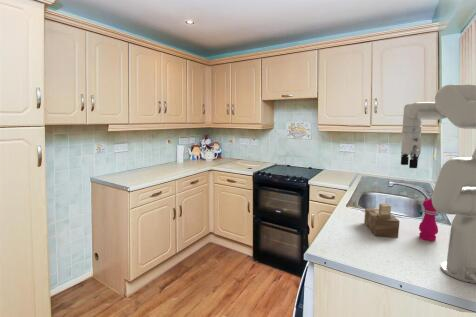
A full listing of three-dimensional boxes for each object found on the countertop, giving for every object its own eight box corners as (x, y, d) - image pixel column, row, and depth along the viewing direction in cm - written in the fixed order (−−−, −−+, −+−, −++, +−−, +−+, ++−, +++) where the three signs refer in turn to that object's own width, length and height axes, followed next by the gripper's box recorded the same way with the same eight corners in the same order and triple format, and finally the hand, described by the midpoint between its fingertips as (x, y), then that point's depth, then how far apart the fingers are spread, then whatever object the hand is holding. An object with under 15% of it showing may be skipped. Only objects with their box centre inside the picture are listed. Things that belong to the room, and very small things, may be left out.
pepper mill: (440, 242, 121) (445, 198, 118) (422, 241, 123) (426, 198, 120) (432, 235, 128) (436, 194, 125) (415, 234, 130) (419, 193, 127)
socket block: (398, 237, 126) (399, 220, 125) (375, 236, 128) (376, 219, 126) (384, 224, 142) (385, 208, 141) (364, 223, 143) (365, 208, 142)
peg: (389, 222, 128) (391, 206, 127) (381, 222, 129) (382, 205, 128) (386, 219, 132) (387, 203, 131) (378, 219, 132) (379, 203, 131)
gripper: (429, 131, 120) (426, 169, 122) (412, 130, 137) (409, 163, 139) (410, 131, 121) (407, 169, 123) (395, 130, 138) (393, 163, 140)
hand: (408, 166), depth 131 cm, fingers open, 9 cm apart
